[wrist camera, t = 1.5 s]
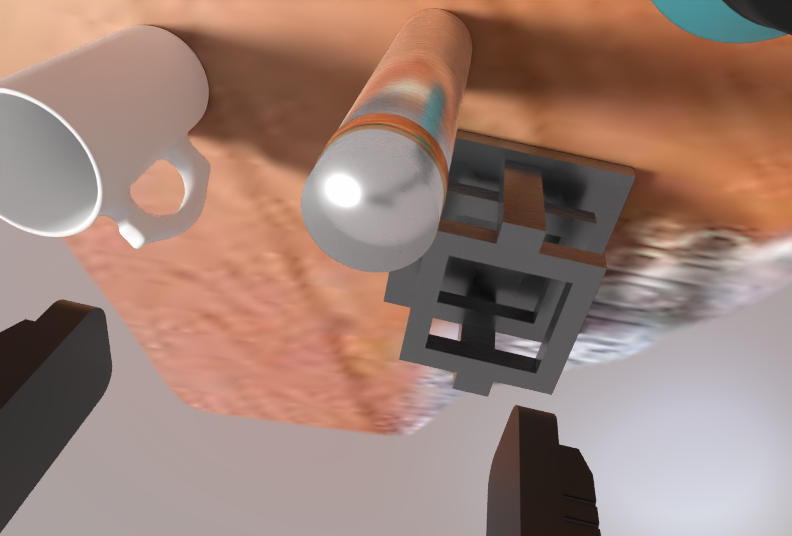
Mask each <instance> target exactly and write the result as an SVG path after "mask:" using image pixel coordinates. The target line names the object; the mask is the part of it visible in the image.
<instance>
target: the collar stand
mask: <svg viewBox="0 0 792 536" xmlns="http://www.w3.org/2000/svg"><path fill="white" fill-rule="evenodd" d="M635 178H636V176H635V173H634V171H633V168H632V167H627V166H622V165H618V164H613V163H609V162H604V161H599V160H595V159H590V158H586V157H581V156H576V155H572V154H567V153H563V152H558V151H553V150H549V149H544V148H539V147H535V146H530V145H526V144H521V143H516V142H512V141H507V140H503V139H498V138H493V137H489V136H484V135H480V134H475V133H470V132H466V131H461V130H457V134H456V139H455V144H454V149H453V154H452V159H451V164H450V170H449V182H448V188H447V193H446V198H445V204H444V208H443V211H442V214H441V216H440V221H439V226H438V230H437V234H436V237H435V239H434V241H433V243H432V245H431V246H430V247H429V249H428V250H427V251H426V252H425V253H424V255H423V256H422V257H420V258H419V259H418V260H417V261H415V262H413V263H412V264H410V265H408V266H406V267H404V268H401V269H398V270H394V271H390V272H389V277H388V282H387V287H386V292H385V297H384V302H389V303H393V304H397V305H402V306H406V307H411V309H410V314H409V319H408V323H407V327H406V332H405V336H404V341H403V345H402V349H401V354H400V358H399V360H404V361H408V362H412V363H417V364H421V365H425V366H430V367H434V368H438V369H443V370H447V371H451V372H454V378H453V387H452V388H453V389H457V390H462V391H466V392H470V393H475V394H479V395H483V396H488V395H489V392H490V389H491V387H492V384H493V381H495V382H499V383H503V384H508V385H512V386H516V387H521V388H525V389H530V390H534V391H538V392H542V393H547V394H551V395H552V393H553V391H554V389H555V386H556V384H557V382H558V379H559V377H560V375H561V373H562V370H563V368H564V366H565V363H566V361H567V359H568V357H569V354H570V352H571V350H572V347H573V345H574V343H575V341H576V338H577V336H578V334H579V331H580V329H581V327H582V325H583V322H584V320H585V318H586V315H587V313H588V311H589V309H590V306H591V304H592V302H593V299H594V297H595V295H596V293H597V290H598V288H599V286H600V283H601V281H602V279H603V277H604V274H605V272H606V270H607V266H606V262H605V257H604V255H603V253H604V251H605V248H606V246H607V244H608V241H609V239H610V237H611V234H612V232H613V230H614V227H615V225H616V222H617V220H618V218H619V215H620V213H621V211H622V208H623V206H624V204H625V201H626V199H627V197H628V194H629V192H630V190H631V187H632V185H633V183H634V180H635ZM433 318H436V319H441V320H445V321H449V322H454V323H458V324H459V333H458V341H457V340H452V339H448V338H444V337H439V336H435V335H431V334H429V331H430V327H431V323H432V319H433ZM495 332H498V333H502V334H507V335H511V336H515V337H520V338H524V339H529V340H533V341H537V342H542V344H541V346H540V349H539V351H538V354H537V356H536V358H531V357H527V356H522V355H518V354H514V353H509V352H505V351H501V350H496V349H495Z"/></svg>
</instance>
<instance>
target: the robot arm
mask: <svg viewBox="0 0 792 536" xmlns="http://www.w3.org/2000/svg"><path fill="white" fill-rule="evenodd" d="M111 373H112V360H111V353H110V345H109V338H108V331H107V323H106V316H105V313H104V311H103V310H102V309H101V308H97V307H93V306H89V305H84V304H80V303H76V302H72V301H67V300H58V301H56V302H55V303H54V304H52V305H51V306H50V307H49V308H48V309H47V310H46V311H45V312H44V313H43V314H42V315H41V316H40V317H39V318H38V319H37V320H36V321H30V320H26V319H25V320H23V321H21V322H19V323H18V324H15V325H14V326H12V327H10V328H8V329H6V330H4V331H2V332H0V533H1V531H2V530H3V529H4V527H5V526H6V525H7V523H8V522H9V521H10V519H11V518H12V517H13V515H14V514H15V513H16V511H17V510H18V509H19V507H20V506H21V505H22V503H23V502H24V501H25V499H26V498H27V497H28V495H29V494H30V492H31V491H32V490H33V489H34V487H35V486H36V485H37V483H38V482H39V481H40V479H41V478H42V477H43V475H44V474H45V472H46V471H47V470H48V469H49V467H50V466H51V464H52V463H53V462H54V461H55V459H56V458H57V457H58V455H59V454H60V452H61V451H62V450H63V448H64V447H65V446H66V445H67V443H68V441H69V440H70V439H71V438H72V436H73V435H74V434H75V432H76V431H77V430H78V428H79V427H80V426H81V424H82V423H83V422H84V420H85V419H86V417H87V416H88V415H89V414H90V412H91V411H92V410H93V408H94V407H95V406H96V404H97V403H98V402H99V400H100V399H101V398H102V396H103V395H104V393H105V391H106V389H107V387H108V384H109V381H110V378H111ZM595 504H596V495H595V488H594V480H593V474H592V472H591V471H590V469H589V467H588V465H587V463H586V462H585V460H584V458H583V456H582V454H581V453H580V451H579V449H577V448H572V447H568V446H564V445H559V439H558V426H557V418H556V416H555V414H552V413H548V412H544V411H539V410H535V409H530V408H526V407H522V406H517V405H516V406H514V408H513V410H512V412H511V414H510V417H509V419H508V422H507V424H506V427H505V430H504V432H503V435H502V437H501V440H500V442H499V445H498V447H497V450H496V452H495V455H494V458H493V462H492V465H491V470H490V476H489V483H488V503H487V531H486V532H487V533H486V536H601V533H600V529H598V527H599V518H598V511H597V507H596V505H595Z"/></svg>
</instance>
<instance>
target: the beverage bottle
mask: <svg viewBox="0 0 792 536" xmlns="http://www.w3.org/2000/svg"><path fill="white" fill-rule="evenodd" d="M651 1H652V2H653V4H654V5H655V6H656V7H657V9H658V10H659V11H660V12H661V13H662V14H663V15H664V16H665V17H666V18H668V19H669V20H670V21H671V22H673V23H674V24H676V25H677V26H678V27H680V28H681V29H683V30H685V31H687V32H689V33H691V34H693V35H695V36H698V37H701V38H704V39H708V40H712V41H717V42H723V43H751V42H759V41H764V40H769V39H774V38H778V37H781V36H784V35H787V34H790V35H792V0H651Z"/></svg>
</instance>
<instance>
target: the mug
mask: <svg viewBox="0 0 792 536" xmlns="http://www.w3.org/2000/svg"><path fill="white" fill-rule="evenodd" d="M208 99H209V87H208V81H207V77H206V74H205V71H204V69H203V66H202V64H201V63H200V61H199V59H198V58H197V56H196V55H195V53H194V52H193V51H192V50H191V49H190V47H189V46H188V45H187V44H186V43H185V42H183V41H182V40H181V39H180V38H178V37H177V36H175V35H174V34H172V33H170V32H168V31H166V30H164V29H161V28H158V27H155V26H149V25H137V26H132V27H128V28H125V29H122V30H120V31H117V32H114V33H111V34H109V35H106V36H104V37H101V38H99V39H96V40H94V41H92V42H89V43H87V44H84V45H82V46H80V47H77V48H75V49H72V50H70V51H67V52H65V53H62V54H60V55H58V56H55V57H53V58H50V59H48V60H45V61H43V62H40V63H38V64H35V65H33V66H30V67H28V68H25V69H23V70H20V71H18V72H15V73H13V74H11V75H8V76H6V77H3V78H1V79H0V218H2V219H3V220H5V221H7V222H8V223H10V224H12V225H14V226H16V227H18V228H20V229H22V230H25V231H27V232H30V233H34V234H37V235H42V236H49V237H65V236H71V235H74V234H77V233H80V232H82V231H84V230H85V229H87V228H88V227H89V226H91V225H92V224H93V222H94V221H95V220H96V219H97V217H98V216H102V215H103V216H108V217H110V218H112V219H113V220H114V221H115V222H116V223H117V224H118V226H119V232H120V234H121V235H122V236H123V237H124V238H125V239H126V240H127V241H128V242H129V243H130V244H131V245H132V246H133V247H134V248H135V249H139V248H141V247H142V246H144V245H145V244H148V243H151V242H156V241H161V240H165V239H168V238H171V237H174V236H177V235H179V234H181V233H183V232H185V231H186V230H187V229H189V228H190V227H191V226H192V225H193V224H194V223H195V222H196V220H197V219H198V217H199V215H200V214H201V212H202V209H203V206H204V203H205V198H206V192H207V186H208V180H209V174H210V163H209V162H208V160H207V159H206V158H205V157H204V156H203V155H201V154H200V153H199V152H198V151H197V149H196V148H195V147H194V146H193V145H192V143H191V142H190V140H189V138H188V132H189V131H190V130H191V129H192V128H193V127H194V126H195V125H196V124H197V123H198V122H199V121H200V119H201V118H202V117H203V115H204V113H205V111H206V108H207V104H208ZM160 159H164V160H167V161H168V162H170V163H171V164H172V165H173V166H174V167H175V168H176V169H177V170H178V171H179V173H180V174H181V176H182V178H183V181H184V185H185V196H184V200H183V202H182V204H181V206H180V208H179V209H178V211H177V212H175V213H173V214H170V215H166V216H158V215H153V214H150V213H147V212H146V211H144V210H143V209H141V208H140V207H139V206H138V205H137V204H136V203H135V202H134V200H133V199H132V197H131V195H130V186H131V185H132V184H133V183H134V182H135V181H136V180H137V179H138V178H140V177H141V176H142V175H143V174H144V173H145V172H146V171H147V170H148V169H149V168H150V167H151V166H152V165H153V164H154V163H155V162H156V161H158V160H160Z"/></svg>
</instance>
